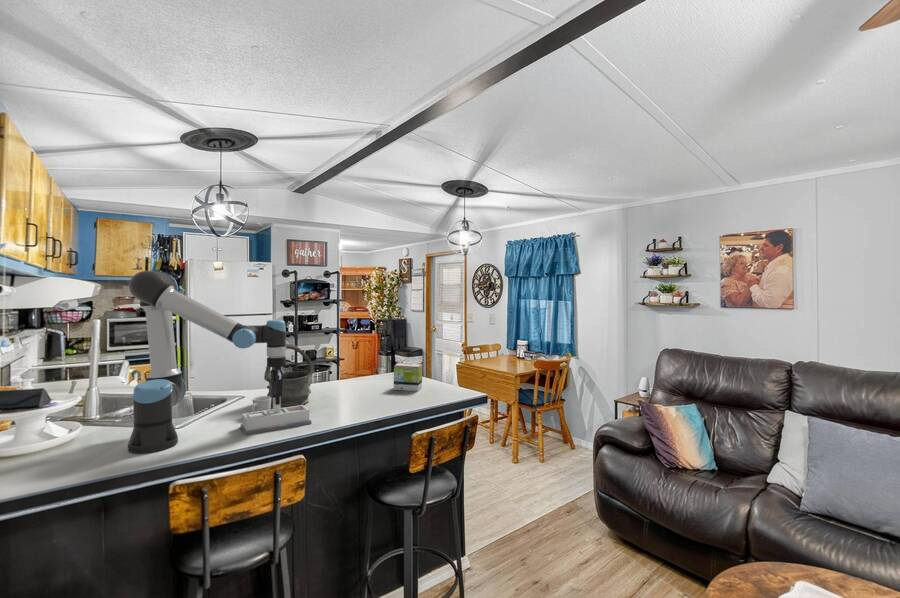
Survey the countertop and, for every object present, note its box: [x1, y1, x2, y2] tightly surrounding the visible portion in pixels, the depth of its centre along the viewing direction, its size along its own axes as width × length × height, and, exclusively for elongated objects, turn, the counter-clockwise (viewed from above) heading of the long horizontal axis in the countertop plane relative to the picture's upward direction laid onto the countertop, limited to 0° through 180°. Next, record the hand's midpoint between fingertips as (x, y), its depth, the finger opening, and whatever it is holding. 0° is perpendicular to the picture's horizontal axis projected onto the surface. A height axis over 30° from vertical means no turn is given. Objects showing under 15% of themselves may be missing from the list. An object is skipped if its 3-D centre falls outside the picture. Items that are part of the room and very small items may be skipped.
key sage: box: [269, 410, 284, 415], centre depth 181 cm, size 5×5×2 cm
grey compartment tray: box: [239, 404, 312, 436], centre depth 181 cm, size 26×12×6 cm, turn 125°
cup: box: [250, 395, 272, 412], centre depth 194 cm, size 11×8×8 cm
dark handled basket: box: [263, 343, 315, 408], centre depth 217 cm, size 22×23×30 cm
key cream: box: [248, 413, 264, 418], centre depth 176 cm, size 5×5×2 cm
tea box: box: [393, 362, 423, 392], centre depth 250 cm, size 15×10×15 cm, turn 81°
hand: (276, 411), depth 181 cm, fingers closed
